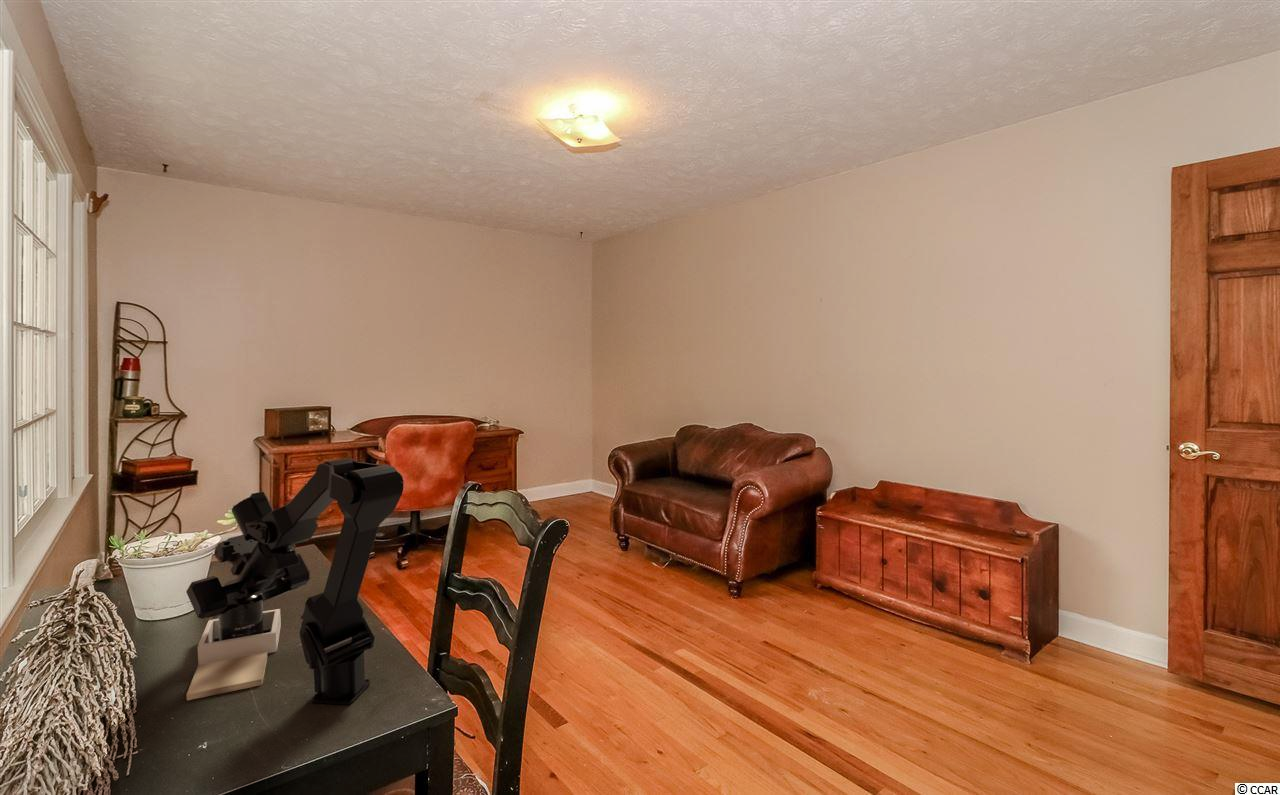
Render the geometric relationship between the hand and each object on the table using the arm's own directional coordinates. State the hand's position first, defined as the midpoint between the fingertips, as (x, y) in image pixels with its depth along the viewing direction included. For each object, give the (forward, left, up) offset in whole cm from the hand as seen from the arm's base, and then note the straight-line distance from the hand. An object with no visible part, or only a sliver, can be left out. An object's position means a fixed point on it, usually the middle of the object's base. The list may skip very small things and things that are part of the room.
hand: (236, 607), depth 114 cm
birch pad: (-7, +12, -7) cm, 15 cm away
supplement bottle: (-1, +1, -7) cm, 7 cm away
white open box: (-1, +1, -7) cm, 7 cm away
